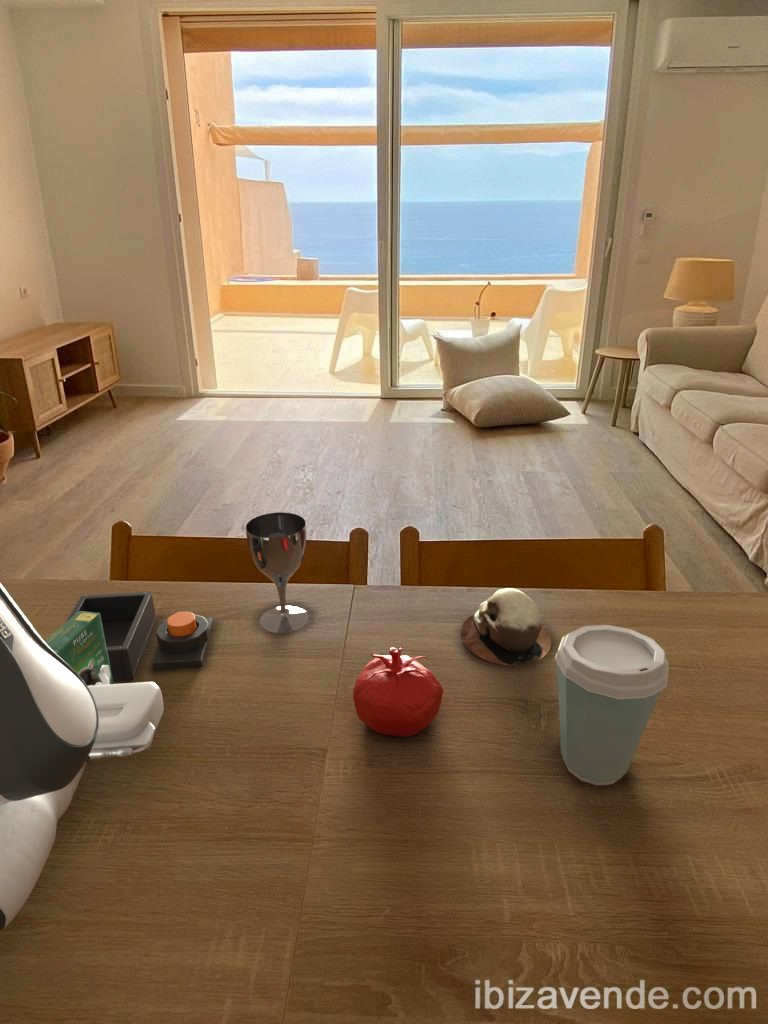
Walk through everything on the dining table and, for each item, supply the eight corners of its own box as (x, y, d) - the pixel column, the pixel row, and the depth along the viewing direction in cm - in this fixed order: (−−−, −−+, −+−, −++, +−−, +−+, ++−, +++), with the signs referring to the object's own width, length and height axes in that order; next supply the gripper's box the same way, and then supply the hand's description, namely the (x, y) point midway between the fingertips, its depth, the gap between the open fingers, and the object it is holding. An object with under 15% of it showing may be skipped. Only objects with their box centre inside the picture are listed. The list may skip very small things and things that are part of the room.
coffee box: (98, 701, 83) (78, 607, 78) (120, 704, 82) (101, 610, 77) (56, 749, 76) (30, 649, 70) (80, 753, 75) (55, 653, 70)
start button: (166, 638, 90) (164, 627, 90) (171, 623, 94) (169, 612, 93) (194, 636, 91) (192, 625, 90) (198, 621, 94) (196, 610, 93)
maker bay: (54, 686, 86) (46, 654, 84) (87, 624, 98) (81, 595, 96) (133, 680, 87) (127, 649, 85) (156, 620, 99) (151, 591, 97)
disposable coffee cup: (525, 742, 76) (535, 627, 70) (606, 717, 79) (623, 605, 73) (583, 816, 67) (601, 690, 60) (673, 784, 70) (698, 662, 64)
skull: (437, 622, 95) (481, 562, 95) (483, 650, 101) (525, 593, 101) (485, 668, 85) (534, 601, 85) (533, 696, 91) (580, 633, 91)
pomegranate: (413, 762, 73) (413, 691, 70) (337, 727, 78) (333, 660, 75) (457, 708, 81) (459, 642, 77) (384, 680, 86) (383, 616, 82)
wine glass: (244, 620, 99) (233, 525, 92) (289, 598, 104) (281, 507, 98) (279, 642, 94) (269, 543, 87) (323, 619, 99) (318, 524, 92)
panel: (152, 670, 88) (148, 651, 87) (168, 626, 98) (165, 608, 96) (204, 667, 89) (201, 648, 88) (215, 624, 98) (212, 605, 97)
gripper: (142, 729, 64) (171, 642, 76) (-90, 745, 62) (-22, 653, 75) (152, 781, 66) (179, 688, 79) (-71, 797, 65) (-7, 700, 77)
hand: (80, 671), depth 77 cm, fingers closed on coffee box, 3 cm apart
